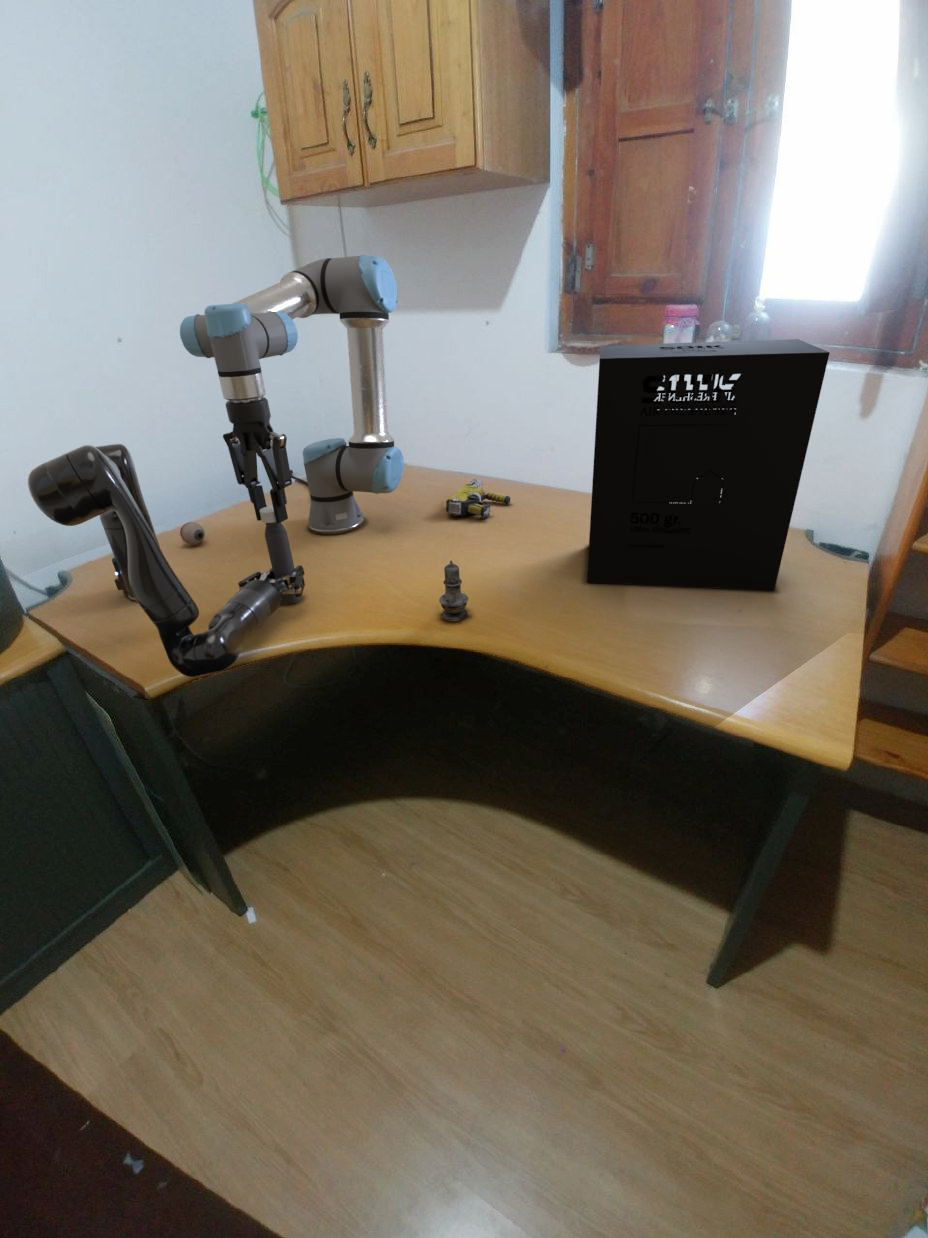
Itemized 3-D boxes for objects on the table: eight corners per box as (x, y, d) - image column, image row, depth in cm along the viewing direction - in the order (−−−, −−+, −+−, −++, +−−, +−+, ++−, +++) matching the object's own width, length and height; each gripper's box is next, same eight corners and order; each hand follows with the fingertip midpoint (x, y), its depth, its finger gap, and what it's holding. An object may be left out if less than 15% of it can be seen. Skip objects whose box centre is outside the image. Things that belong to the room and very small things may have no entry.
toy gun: (518, 484, 183) (472, 477, 187) (496, 507, 163) (444, 499, 167) (517, 499, 185) (471, 492, 189) (494, 524, 165) (443, 515, 169)
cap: (285, 520, 121) (283, 510, 120) (263, 524, 120) (261, 514, 118) (281, 513, 124) (279, 504, 123) (260, 518, 123) (257, 508, 122)
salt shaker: (466, 622, 119) (462, 567, 113) (437, 621, 120) (432, 566, 114) (471, 608, 123) (469, 554, 117) (443, 606, 125) (439, 553, 119)
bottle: (293, 606, 129) (273, 517, 119) (275, 603, 130) (255, 515, 120) (304, 596, 132) (287, 509, 122) (288, 594, 134) (269, 508, 124)
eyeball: (193, 549, 159) (187, 528, 156) (179, 545, 162) (172, 524, 159) (212, 541, 163) (206, 520, 160) (198, 538, 166) (191, 517, 163)
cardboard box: (754, 550, 140) (797, 339, 118) (774, 590, 123) (829, 352, 101) (589, 545, 148) (601, 345, 125) (586, 582, 131) (599, 358, 108)
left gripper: (281, 591, 113) (318, 553, 127) (213, 587, 116) (256, 551, 130) (289, 625, 117) (324, 585, 131) (223, 621, 119) (264, 582, 134)
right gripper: (296, 395, 110) (318, 517, 122) (224, 393, 116) (251, 509, 128) (270, 404, 104) (295, 530, 116) (195, 401, 111) (226, 521, 122)
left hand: (290, 568), depth 130 cm, fingers closed on bottle, 4 cm apart
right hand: (272, 519), depth 122 cm, fingers closed on cap, 4 cm apart
